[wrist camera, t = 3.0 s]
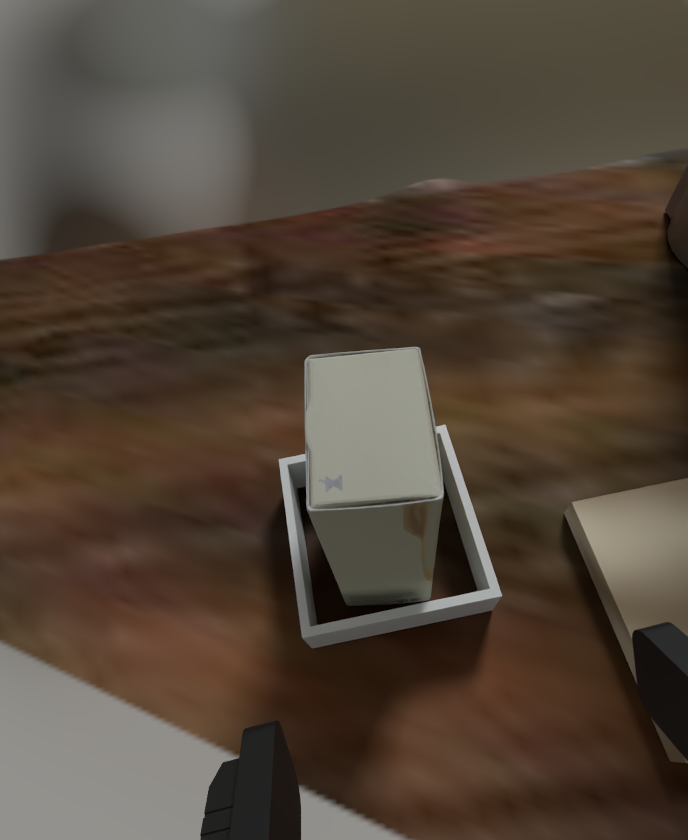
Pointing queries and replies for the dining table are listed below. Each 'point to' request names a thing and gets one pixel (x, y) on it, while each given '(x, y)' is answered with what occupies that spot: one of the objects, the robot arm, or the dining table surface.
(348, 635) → the gray square frame
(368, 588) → the skincare box
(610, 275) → the dining table surface
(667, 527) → the birch board
